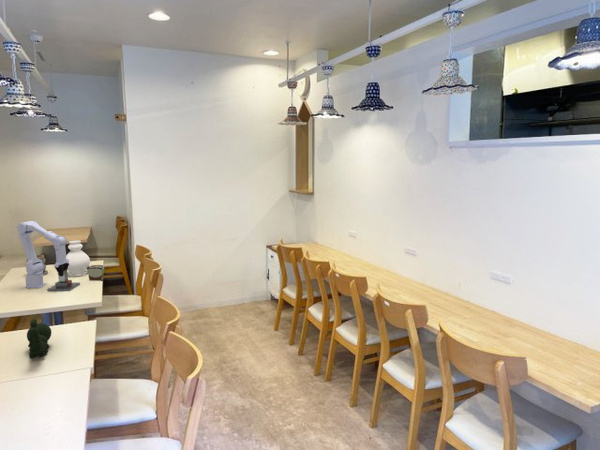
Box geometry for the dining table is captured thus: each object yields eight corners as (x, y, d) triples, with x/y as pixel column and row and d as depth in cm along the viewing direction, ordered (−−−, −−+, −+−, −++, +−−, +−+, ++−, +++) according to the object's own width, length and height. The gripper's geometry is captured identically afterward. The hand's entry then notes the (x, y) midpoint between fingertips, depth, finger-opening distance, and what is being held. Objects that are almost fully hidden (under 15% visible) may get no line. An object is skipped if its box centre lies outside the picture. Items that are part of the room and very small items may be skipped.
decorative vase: (67, 272, 312) (64, 239, 308) (93, 270, 317) (90, 238, 314) (61, 278, 295) (58, 244, 291) (88, 276, 301) (86, 242, 297)
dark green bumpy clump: (50, 364, 175) (53, 337, 196) (45, 323, 170) (49, 300, 192) (23, 369, 170) (30, 341, 192) (18, 327, 166) (25, 303, 187)
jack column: (58, 281, 270) (57, 270, 269) (61, 279, 274) (60, 269, 273) (65, 281, 271) (64, 270, 269) (68, 279, 275) (67, 269, 273)
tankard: (28, 273, 308) (26, 254, 306) (48, 271, 314) (46, 252, 311) (24, 280, 290) (21, 259, 288) (45, 278, 296) (42, 258, 293)
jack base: (47, 291, 266) (46, 283, 265) (58, 285, 280) (58, 277, 279) (69, 291, 267) (69, 283, 266) (80, 284, 280) (79, 277, 280)
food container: (108, 278, 295) (107, 264, 294) (103, 280, 289) (102, 267, 288) (92, 277, 296) (91, 264, 295) (87, 280, 290) (86, 266, 289)
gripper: (61, 257, 263) (63, 278, 265) (72, 252, 277) (74, 272, 279) (50, 257, 262) (52, 278, 265) (61, 252, 277) (63, 272, 279)
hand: (62, 275), depth 272 cm, fingers closed on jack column, 4 cm apart
